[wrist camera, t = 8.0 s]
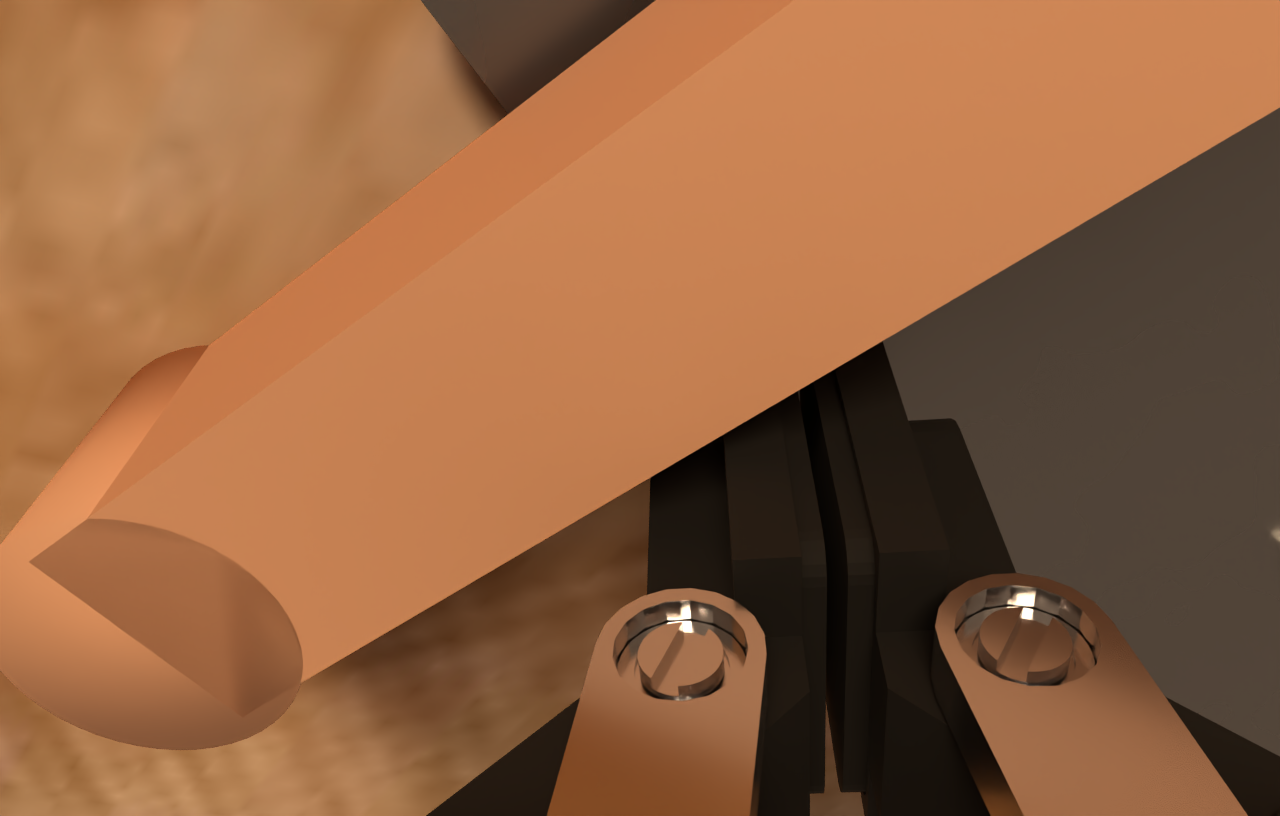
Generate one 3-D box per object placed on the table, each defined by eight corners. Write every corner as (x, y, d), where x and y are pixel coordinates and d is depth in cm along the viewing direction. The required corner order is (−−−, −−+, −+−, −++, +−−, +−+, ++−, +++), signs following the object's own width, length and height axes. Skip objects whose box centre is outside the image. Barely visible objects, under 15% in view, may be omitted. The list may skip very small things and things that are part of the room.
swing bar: (2044, -1131, 6) (2996, -1706, 4) (2060, -573, 7) (2769, -716, 5) (58, 433, 12) (-94, 618, 10) (254, 589, 14) (163, 787, 11)
